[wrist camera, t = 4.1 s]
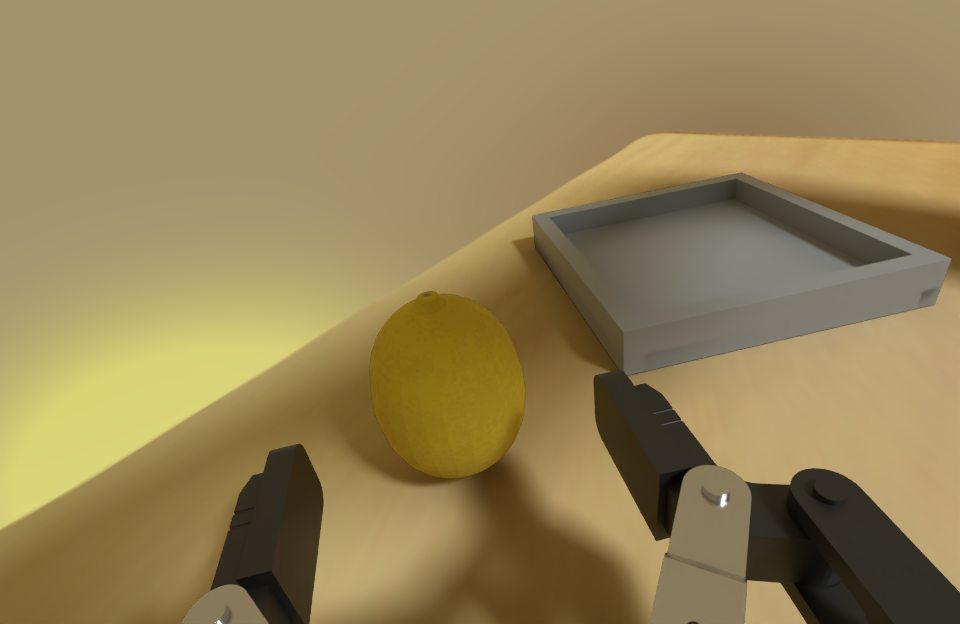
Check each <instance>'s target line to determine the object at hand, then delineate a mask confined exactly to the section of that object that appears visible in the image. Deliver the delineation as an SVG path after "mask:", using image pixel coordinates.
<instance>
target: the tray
mask: <svg viewBox="0 0 960 624" xmlns="http://www.w3.org/2000/svg"><path fill="white" fill-rule="evenodd" d="M532 220H533V230H534V240H535V248H536V249H537V251H538V252H539V254H540V255H541V257H542V258H543V259H544V261H545V262H546V264H547V265H548V267H549V268H550V270H551V271H552V273H553V274H554V275H555V277H556V278H557V280H558V281H559V283H560V284H561V286H562V287H563V289H564V290H565V292H566V293H567V294H568V296H569V297H570V299H571V300H572V302H573V303H574V305H575V306H576V308H577V309H578V310H579V312H580V313H581V315H582V316H583V318H584V319H585V321H586V322H587V324H588V325H589V327H590V328H591V329H592V331H593V332H594V334H595V335H596V337H597V338H598V340H599V341H600V343H601V344H602V345H603V347H604V348H605V350H606V351H607V353H608V354H609V356H610V357H611V359H612V360H613V361H614V363H615V364H616V366H617V367H618V369H619V370H623V371H624V372H625V373H626V375H631V374H636V373H640V372H644V371H649V370H653V369H657V368H662V367H666V366H670V365H675V364H679V363H683V362H688V361H692V360H696V359H701V358H705V357H709V356H714V355H718V354H722V353H727V352H731V351H735V350H740V349H744V348H748V347H753V346H757V345H761V344H766V343H770V342H774V341H779V340H783V339H787V338H792V337H796V336H800V335H805V334H809V333H813V332H818V331H822V330H826V329H830V328H835V327H839V326H843V325H848V324H852V323H856V322H861V321H865V320H869V319H874V318H878V317H882V316H887V315H891V314H895V313H900V312H904V311H908V310H913V309H917V308H921V307H926V306H930V305H934V304H935V303H936V300H937V297H938V295H939V292H940V289H941V287H942V284H943V281H944V278H945V276H946V273H947V270H948V268H949V265H950V262H951V260H952V258H949V257H947V256H944V255H942V254H939V253H937V252H935V251H932V250H930V249H927V248H925V247H922V246H920V245H917V244H915V243H913V242H910V241H908V240H905V239H903V238H900V237H898V236H895V235H893V234H891V233H888V232H886V231H883V230H881V229H878V228H876V227H873V226H871V225H868V224H866V223H864V222H861V221H859V220H856V219H854V218H851V217H849V216H846V215H844V214H842V213H839V212H837V211H834V210H832V209H829V208H827V207H824V206H822V205H820V204H817V203H815V202H812V201H810V200H807V199H805V198H802V197H800V196H797V195H795V194H793V193H790V192H788V191H785V190H783V189H780V188H778V187H775V186H773V185H771V184H768V183H766V182H763V181H761V180H758V179H756V178H753V177H751V176H749V175H746V174H744V173H737V174H732V175H727V176H722V177H718V178H713V179H708V180H703V181H698V182H693V183H688V184H683V185H679V186H674V187H669V188H664V189H659V190H654V191H649V192H645V193H640V194H635V195H630V196H625V197H620V198H615V199H611V200H606V201H601V202H596V203H591V204H586V205H581V206H577V207H572V208H567V209H562V210H557V211H552V212H547V213H543V214H538V215H533V216H532Z"/></svg>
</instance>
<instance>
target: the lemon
mask: <svg viewBox="0 0 960 624" xmlns="http://www.w3.org/2000/svg"><path fill="white" fill-rule="evenodd" d="M370 386H371V396H372V403H373V408H374V412H375V416H376V418H377V421H378V423H379V425H380V427H381V429H382V431H383V433H384V435H385V437H386V438H387V440H388V442H389V443H390V445H391V447H392V448H393V449H394V451H395V452H396V453H397V454H398V455H399V456H400V457H402V458H403V459H404V460H405V461H406V462H407V463H409V464H410V465H411V466H412V467H414V468H415V469H417V470H419V471H422V472H424V473H426V474H429V475H431V476H436V477H442V478H463V477H467V476H471V475H475V474H477V473H479V472H481V471H483V470H486V469H488V468H489V467H490V466H492V465H493V464H494V463H496V462H497V461H498V460H499V459H501V458H502V457H503V455H504V454H505V453H506V452H507V451H508V449H509V448H510V447H511V445H512V444H513V442H514V440H515V438H516V436H517V433H518V431H519V429H520V426H521V424H522V420H523V414H524V402H525V383H524V377H523V372H522V368H521V365H520V362H519V358H518V355H517V352H516V350H515V347H514V345H513V342H512V340H511V338H510V336H509V334H508V333H507V331H506V329H505V328H504V326H503V325H502V324H501V322H500V321H499V320H498V319H497V318H496V317H495V316H494V315H493V314H492V313H491V312H490V311H489V310H488V309H486V308H485V307H483V306H482V305H480V304H478V303H476V302H475V301H472V300H470V299H468V298H464V297H461V296H457V295H451V294H437V293H436V292H432V291H430V292H424V293H422V294H420V295H419V296H418V297H417V299H416V300H413V301H411V302H409V303H407V304H406V305H404V306H403V307H401V308H400V309H399V310H398V311H397V312H395V313H394V314H393V315H392V316H391V317H390V318H389V319H388V321H387V322H386V323H385V325H384V326H383V327H382V329H381V331H380V332H379V334H378V335H377V338H376V341H375V344H374V347H373V350H372V354H371V359H370Z"/></svg>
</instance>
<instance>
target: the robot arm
mask: <svg viewBox="0 0 960 624" xmlns="http://www.w3.org/2000/svg"><path fill="white" fill-rule="evenodd" d="M594 399H595V418H596V424H597V428H598V431H599V434H600V436H601V439H602V441H603V443H604V444H605V446H606V448H607V450H608V452H609V454H610V456H611V457H612V459H613V461H614V463H615V465H616V467H617V469H618V471H619V472H620V474H621V476H622V478H623V480H624V482H625V484H626V486H627V487H628V489H629V491H630V493H631V495H632V497H633V499H634V501H635V502H636V504H637V506H638V508H639V510H640V512H641V514H642V516H643V517H644V519H645V521H646V523H647V525H648V527H649V529H650V531H651V532H652V534H653V536H654V538H655V540H656V541H658V540H662V539H666V538H670V542H669V547H668V551H667V553H665V556H664V559H663V563H662V568H661V572H660V577H659V581H658V586H657V591H656V595H655V600H654V605H653V609H652V614H651V619H650V623H649V624H744V623H745V610H746V596H747V580H753V581H765V582H778V583H781V584H782V586H783V587H784V589H785V590H786V592H787V593H788V595H789V596H790V598H791V600H792V601H793V603H794V604H795V606H796V607H797V609H798V610H799V612H800V613H801V615H802V617H803V618H804V620H805V621H806V623H807V624H960V592H959V591H958V590H957V589H956V588H955V587H954V586H953V585H952V584H951V583H950V582H949V581H948V579H947V578H946V577H945V576H944V575H943V574H942V573H941V572H940V571H939V570H938V569H937V568H936V567H935V566H934V565H933V564H932V563H931V562H930V561H929V559H928V558H927V557H926V556H925V555H924V554H923V553H922V552H921V551H920V550H919V549H918V548H917V547H916V546H915V545H914V544H913V543H912V542H911V540H910V539H909V538H908V537H907V536H906V535H905V534H904V533H903V532H902V531H901V530H900V529H899V528H898V527H897V526H896V525H895V524H894V523H893V522H892V520H891V519H890V518H889V517H888V516H887V515H886V514H885V513H884V512H883V511H882V510H881V509H880V508H879V507H878V506H877V505H876V504H875V503H874V501H873V500H872V499H871V498H870V497H869V496H868V495H867V494H866V493H865V492H864V491H863V490H862V489H861V488H860V487H859V486H858V485H857V484H856V483H854V482H853V481H852V480H850V479H848V478H847V477H845V476H843V475H841V474H839V473H836V472H833V471H830V470H825V469H815V468H812V469H806V470H802V471H800V472H798V473H797V474H796V475H794V477H793V478H792V481H791V484H790V485H778V484H757V483H750V482H745V481H744V480H743V479H742V478H741V477H740V476H738V475H737V474H736V473H734V472H732V471H731V470H728V469H726V468H723V467H720V466H717V465H716V464H715V463H714V461H713V460H712V459H711V458H710V456H709V455H708V454H707V452H706V451H705V450H704V448H703V447H702V446H701V444H700V443H699V442H698V441H697V439H696V438H695V437H694V435H693V434H692V433H691V431H690V430H689V429H688V427H687V426H686V425H685V423H684V422H682V421H681V418H680V417H679V416H678V414H677V413H676V412H675V410H673V409H672V406H671V405H670V404H669V403H668V401H667V400H666V399H665V397H664V396H663V395H662V394H661V393H660V392H658V391H657V390H655V389H654V388H652V387H650V386H649V385H647V384H646V383H645V384H640V385H636V386H634V385H633V383H632V382H631V381H630V379H629V378H628V376H627V375H626V373H625V372H624V371H623V370H617V371H612V372H608V373H604V374H599V375H596V376H595V377H594ZM234 513H235V515H234V516H233V517H232V521H231V524H230V531H228V534H227V537H226V541H225V544H224V547H223V551H222V554H221V557H220V561H219V564H218V567H217V570H216V574H215V577H214V580H213V584H212V587H211V590H210V592H208V593H207V594H205V595H204V596H202V597H201V598H200V599H199V600H198V601H197V602H196V603H195V604H194V605H193V606H192V607H191V608H190V610H189V611H188V612H187V614H186V616H185V617H184V619H183V621H182V623H181V624H309V622H310V613H311V605H312V596H313V588H314V580H315V571H316V563H317V555H318V546H319V538H320V529H321V521H322V513H323V492H322V487H321V484H320V481H319V479H318V477H317V474H316V472H315V470H314V468H313V466H312V464H311V462H310V460H309V457H308V455H307V453H306V451H305V449H304V447H303V446H302V445H301V444H296V445H292V446H288V447H284V448H279V449H275V450H271V451H270V452H269V454H268V458H267V461H266V465H265V469H264V473H260V474H256V475H253V476H252V477H251V478H250V480H249V481H248V483H247V484H246V485H245V487H244V488H243V490H242V491H241V492H240V494H239V497H238V501H237V504H236V507H235V511H234Z"/></svg>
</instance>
